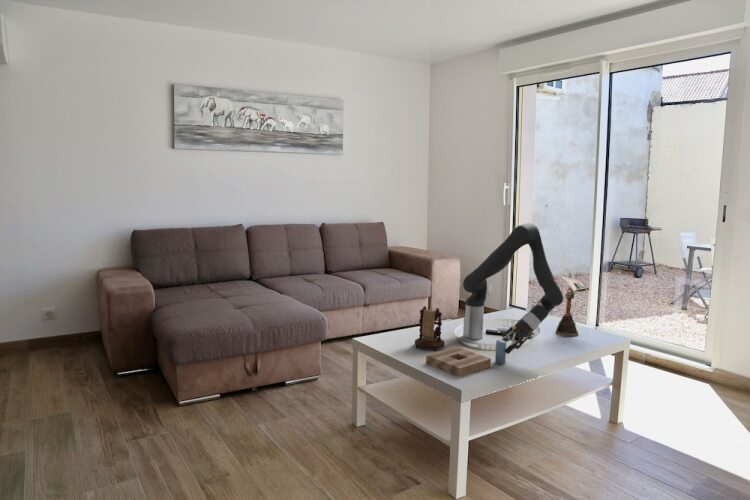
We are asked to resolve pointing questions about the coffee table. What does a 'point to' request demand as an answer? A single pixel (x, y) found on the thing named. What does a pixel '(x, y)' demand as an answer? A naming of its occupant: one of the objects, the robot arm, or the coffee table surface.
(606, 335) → the coffee table surface
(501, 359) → the peg
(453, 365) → the socket block
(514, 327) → the decorative rock
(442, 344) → the scroll
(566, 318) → the bird statue
